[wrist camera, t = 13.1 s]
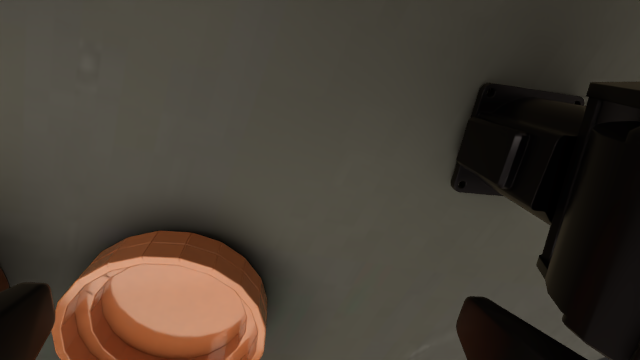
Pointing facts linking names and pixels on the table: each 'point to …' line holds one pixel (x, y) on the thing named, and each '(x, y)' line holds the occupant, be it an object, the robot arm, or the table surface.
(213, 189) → the table surface
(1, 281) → the food container
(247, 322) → the pan
